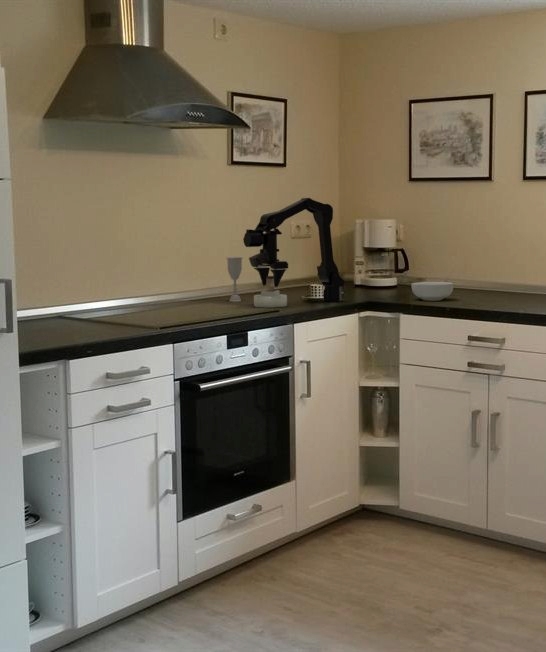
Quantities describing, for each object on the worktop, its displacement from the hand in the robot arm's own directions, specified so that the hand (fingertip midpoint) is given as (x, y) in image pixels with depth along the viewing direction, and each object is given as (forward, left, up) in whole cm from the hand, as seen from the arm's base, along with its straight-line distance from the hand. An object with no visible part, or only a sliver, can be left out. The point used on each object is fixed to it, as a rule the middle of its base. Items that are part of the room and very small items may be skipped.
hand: (270, 286), depth 377 cm
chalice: (+21, -15, -8) cm, 27 cm away
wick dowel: (0, 0, -4) cm, 4 cm away
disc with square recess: (0, 0, -8) cm, 8 cm away
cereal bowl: (-57, -38, -8) cm, 69 cm away
